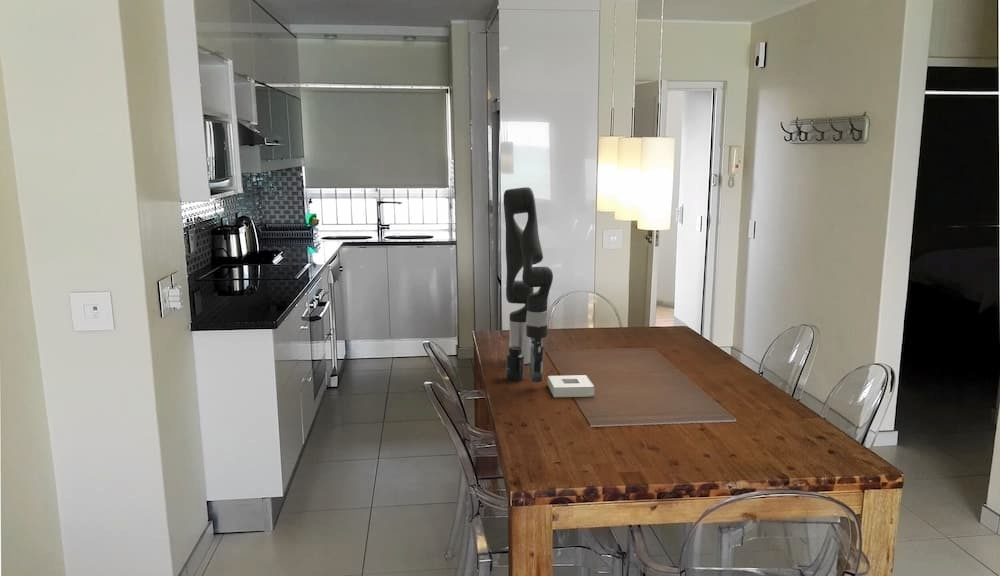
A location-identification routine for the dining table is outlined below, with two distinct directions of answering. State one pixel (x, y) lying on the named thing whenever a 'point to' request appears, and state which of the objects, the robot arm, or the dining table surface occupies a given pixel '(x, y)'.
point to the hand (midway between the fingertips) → (536, 369)
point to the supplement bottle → (515, 364)
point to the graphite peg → (533, 375)
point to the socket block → (570, 386)
